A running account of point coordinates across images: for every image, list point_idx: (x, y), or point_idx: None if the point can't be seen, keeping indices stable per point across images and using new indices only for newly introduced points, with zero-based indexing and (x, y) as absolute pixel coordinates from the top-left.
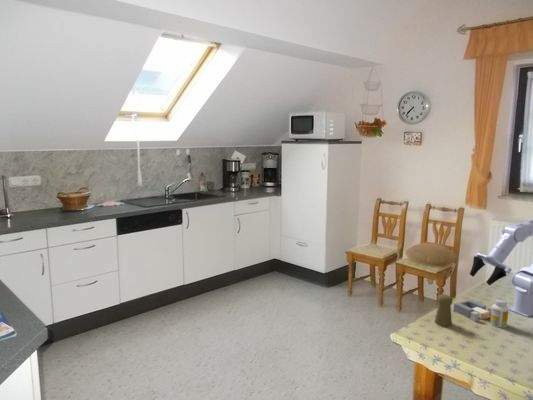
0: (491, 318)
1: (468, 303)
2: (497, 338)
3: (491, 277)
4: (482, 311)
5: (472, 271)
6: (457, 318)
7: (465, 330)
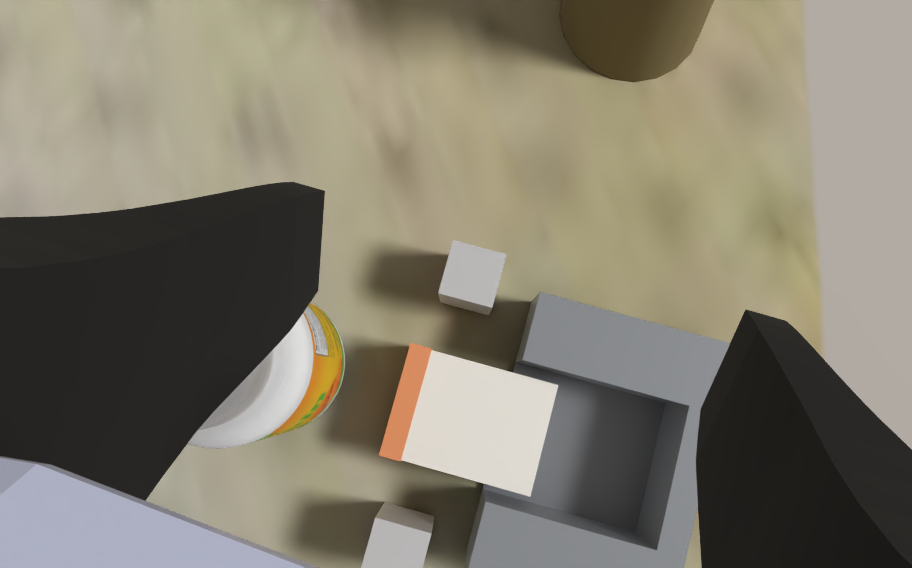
0: (320, 312)
1: (650, 540)
2: (199, 82)
3: (197, 207)
4: (444, 405)
5: (761, 338)
6: (592, 201)
7: (438, 25)
